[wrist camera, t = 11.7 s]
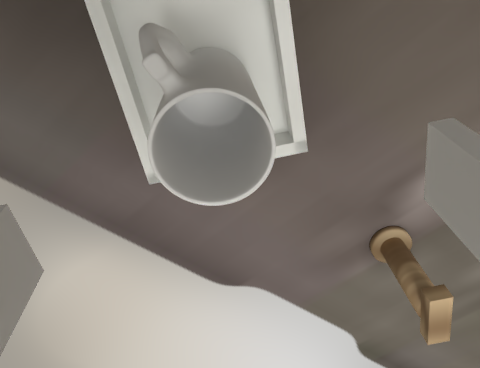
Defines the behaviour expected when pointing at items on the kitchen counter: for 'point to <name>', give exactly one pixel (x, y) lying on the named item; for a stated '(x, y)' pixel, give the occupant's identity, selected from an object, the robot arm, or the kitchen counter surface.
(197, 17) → the tray
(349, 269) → the kitchen counter surface
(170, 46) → the mug
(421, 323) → the post
